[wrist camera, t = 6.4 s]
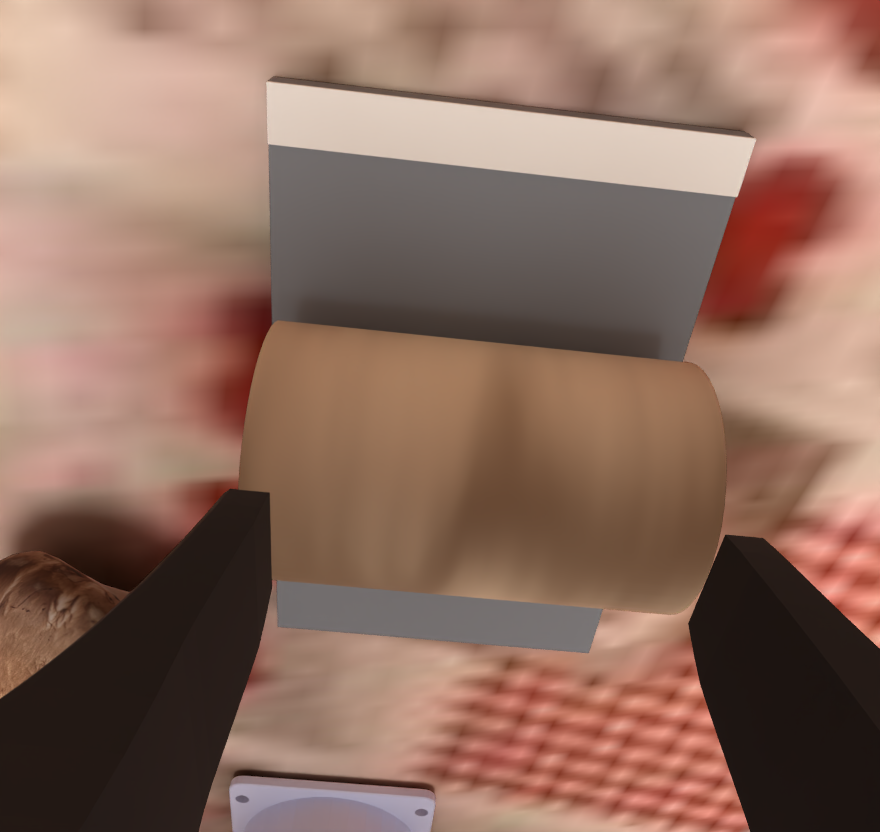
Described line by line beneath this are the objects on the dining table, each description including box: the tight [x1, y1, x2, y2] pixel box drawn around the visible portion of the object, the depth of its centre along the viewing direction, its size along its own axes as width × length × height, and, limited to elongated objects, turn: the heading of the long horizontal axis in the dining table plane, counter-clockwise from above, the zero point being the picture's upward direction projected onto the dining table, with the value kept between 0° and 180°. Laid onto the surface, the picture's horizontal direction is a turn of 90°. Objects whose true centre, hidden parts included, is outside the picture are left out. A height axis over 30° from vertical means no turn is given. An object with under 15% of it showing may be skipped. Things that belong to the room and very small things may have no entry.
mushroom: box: [0, 551, 131, 698], centre depth 22 cm, size 8×8×6 cm
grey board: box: [266, 77, 756, 653], centre depth 19 cm, size 16×10×1 cm, turn 174°
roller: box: [238, 320, 727, 615], centre depth 16 cm, size 6×9×6 cm, turn 84°
